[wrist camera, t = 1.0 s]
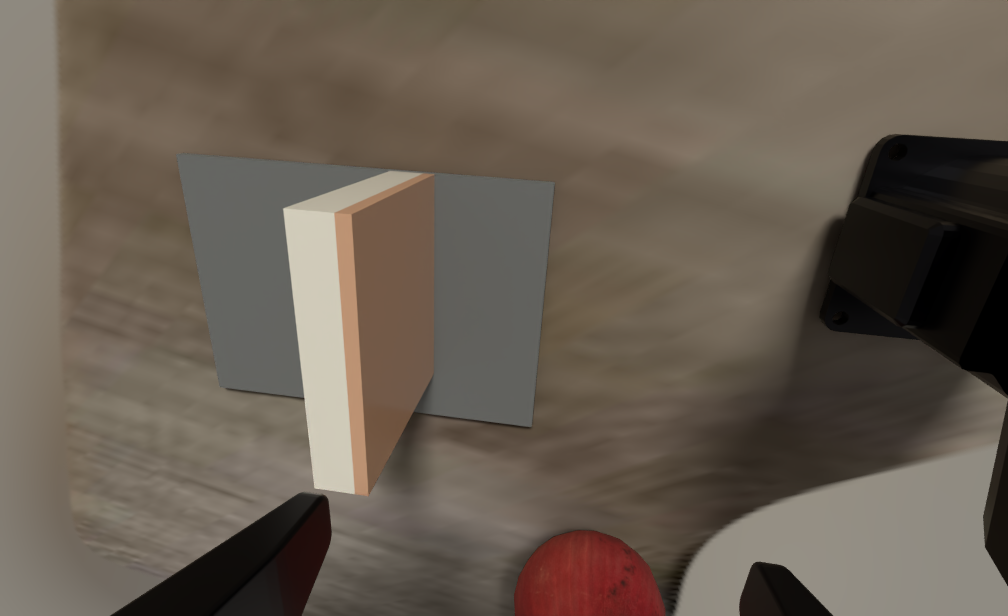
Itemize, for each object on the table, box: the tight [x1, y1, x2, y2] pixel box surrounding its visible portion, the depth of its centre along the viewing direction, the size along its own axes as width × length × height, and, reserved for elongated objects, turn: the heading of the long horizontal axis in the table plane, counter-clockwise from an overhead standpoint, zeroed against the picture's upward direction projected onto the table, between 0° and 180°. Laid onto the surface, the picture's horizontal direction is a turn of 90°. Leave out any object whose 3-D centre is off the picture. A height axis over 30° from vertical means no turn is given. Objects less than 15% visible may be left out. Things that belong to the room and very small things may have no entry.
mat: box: [176, 153, 555, 427], centre depth 20 cm, size 14×10×1 cm
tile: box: [283, 171, 434, 496], centre depth 16 cm, size 2×8×7 cm, turn 176°
